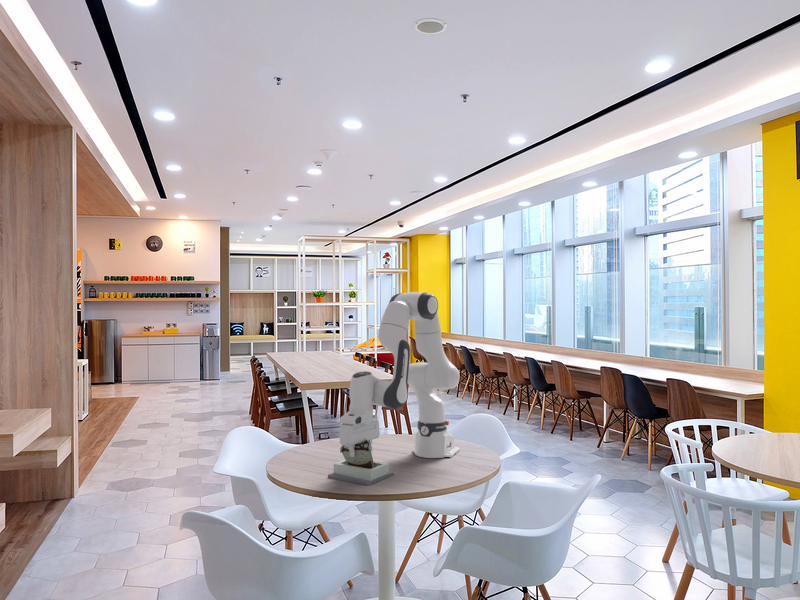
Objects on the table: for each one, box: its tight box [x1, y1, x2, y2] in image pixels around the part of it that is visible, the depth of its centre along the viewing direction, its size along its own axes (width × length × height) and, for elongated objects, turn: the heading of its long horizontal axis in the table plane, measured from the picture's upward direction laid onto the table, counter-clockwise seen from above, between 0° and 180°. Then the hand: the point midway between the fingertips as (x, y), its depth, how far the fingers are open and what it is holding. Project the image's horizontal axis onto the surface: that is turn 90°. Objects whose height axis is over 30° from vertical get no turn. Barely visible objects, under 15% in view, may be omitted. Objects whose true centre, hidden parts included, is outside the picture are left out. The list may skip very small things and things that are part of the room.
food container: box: [339, 439, 374, 469], centre depth 200 cm, size 12×6×10 cm, turn 71°
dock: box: [327, 459, 394, 487], centre depth 199 cm, size 16×18×4 cm
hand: (360, 454), depth 199 cm, fingers open, 7 cm apart
